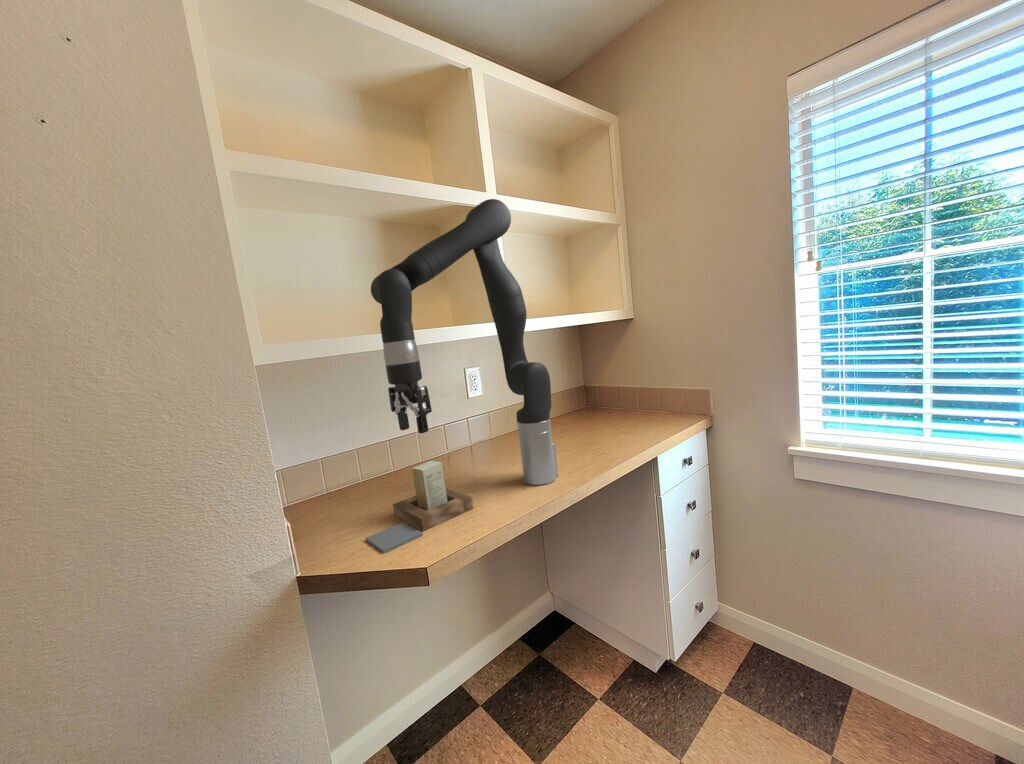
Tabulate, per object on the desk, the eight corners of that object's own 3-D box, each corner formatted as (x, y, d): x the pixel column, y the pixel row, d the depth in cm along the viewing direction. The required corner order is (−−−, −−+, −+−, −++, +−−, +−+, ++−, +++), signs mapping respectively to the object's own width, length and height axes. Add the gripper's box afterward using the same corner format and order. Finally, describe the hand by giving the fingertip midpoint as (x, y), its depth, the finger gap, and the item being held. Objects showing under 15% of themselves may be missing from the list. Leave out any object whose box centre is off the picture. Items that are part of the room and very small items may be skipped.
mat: (403, 524, 94) (402, 521, 94) (422, 535, 88) (422, 532, 87) (366, 540, 88) (365, 537, 88) (384, 553, 82) (383, 550, 81)
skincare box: (438, 505, 103) (431, 459, 102) (449, 508, 100) (442, 461, 99) (417, 515, 98) (410, 467, 97) (429, 519, 95) (422, 469, 94)
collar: (442, 496, 109) (440, 485, 109) (473, 508, 99) (471, 496, 98) (394, 515, 100) (392, 504, 99) (423, 531, 89) (421, 518, 89)
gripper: (433, 357, 88) (444, 429, 90) (402, 360, 98) (412, 424, 100) (402, 362, 83) (415, 438, 85) (372, 365, 93) (384, 432, 95)
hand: (413, 431), depth 93 cm, fingers open, 8 cm apart
